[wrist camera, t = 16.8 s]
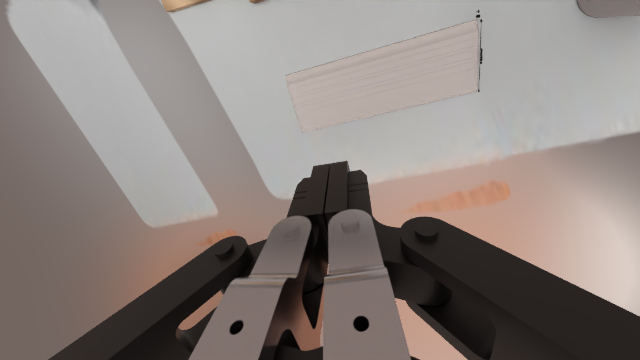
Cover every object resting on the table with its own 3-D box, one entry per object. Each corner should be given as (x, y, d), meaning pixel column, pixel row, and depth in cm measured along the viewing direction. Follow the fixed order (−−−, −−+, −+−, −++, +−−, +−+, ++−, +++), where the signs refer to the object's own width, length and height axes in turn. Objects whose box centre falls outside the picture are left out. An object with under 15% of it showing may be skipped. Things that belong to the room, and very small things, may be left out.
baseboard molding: (283, 66, 44) (303, 129, 50) (279, 68, 42) (301, 135, 47) (475, 8, 37) (473, 89, 43) (484, 6, 35) (481, 92, 41)
